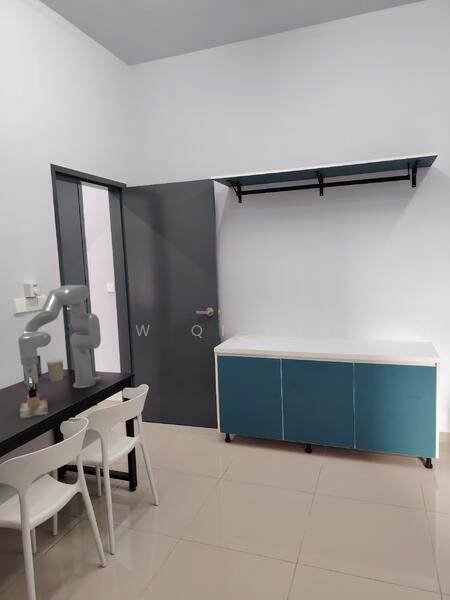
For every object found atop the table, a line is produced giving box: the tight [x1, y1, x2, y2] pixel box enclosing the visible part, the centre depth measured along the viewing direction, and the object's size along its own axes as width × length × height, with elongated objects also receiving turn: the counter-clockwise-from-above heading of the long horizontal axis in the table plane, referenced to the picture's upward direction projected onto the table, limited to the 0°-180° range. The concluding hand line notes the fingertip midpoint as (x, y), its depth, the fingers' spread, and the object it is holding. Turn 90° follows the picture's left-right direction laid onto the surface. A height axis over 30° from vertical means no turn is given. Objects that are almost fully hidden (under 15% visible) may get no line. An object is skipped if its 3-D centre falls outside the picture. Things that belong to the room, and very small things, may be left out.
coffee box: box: [22, 354, 43, 386], centre depth 259 cm, size 9×6×16 cm
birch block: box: [19, 398, 49, 419], centre depth 210 cm, size 12×12×4 cm
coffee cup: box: [46, 358, 64, 382], centre depth 264 cm, size 9×9×12 cm
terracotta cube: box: [26, 392, 40, 408], centre depth 209 cm, size 5×5×5 cm
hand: (33, 394), depth 210 cm, fingers open, 9 cm apart
